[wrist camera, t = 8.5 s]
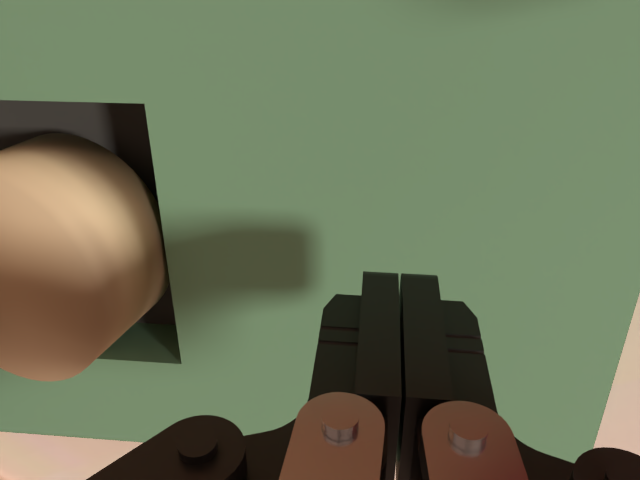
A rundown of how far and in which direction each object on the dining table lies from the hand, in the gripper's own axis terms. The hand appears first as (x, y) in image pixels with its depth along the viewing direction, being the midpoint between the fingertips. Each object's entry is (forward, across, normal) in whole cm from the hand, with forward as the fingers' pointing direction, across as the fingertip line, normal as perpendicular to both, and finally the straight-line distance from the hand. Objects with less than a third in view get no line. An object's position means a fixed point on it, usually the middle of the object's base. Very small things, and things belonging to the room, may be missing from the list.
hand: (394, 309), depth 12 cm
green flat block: (+5, +4, 0) cm, 6 cm away
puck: (+4, +8, +1) cm, 9 cm away
